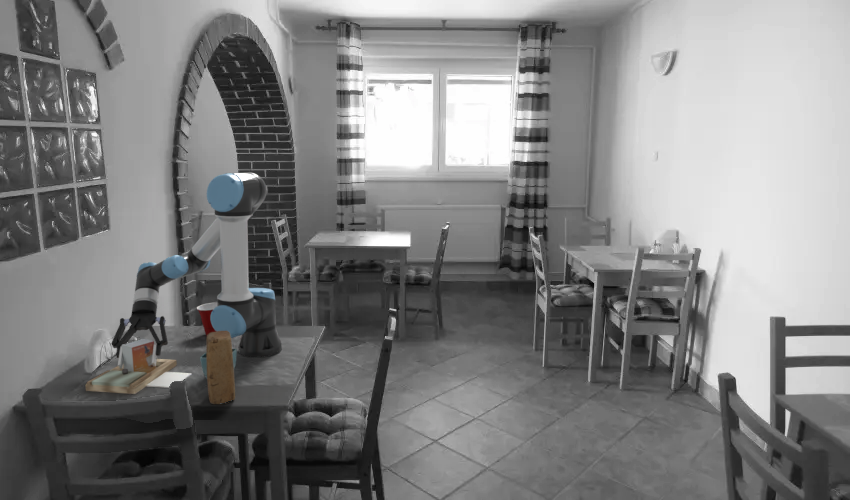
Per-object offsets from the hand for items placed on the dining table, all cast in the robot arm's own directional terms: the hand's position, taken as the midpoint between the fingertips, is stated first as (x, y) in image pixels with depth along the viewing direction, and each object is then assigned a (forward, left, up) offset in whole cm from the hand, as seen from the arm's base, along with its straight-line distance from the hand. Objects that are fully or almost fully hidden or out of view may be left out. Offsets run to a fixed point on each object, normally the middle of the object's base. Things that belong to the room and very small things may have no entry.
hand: (137, 365), depth 186 cm
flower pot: (-27, -2, -4) cm, 27 cm away
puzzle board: (+1, +1, -4) cm, 4 cm away
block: (-34, +11, -4) cm, 36 cm away
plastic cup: (-3, -44, -4) cm, 44 cm away
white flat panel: (-11, +1, -4) cm, 12 cm away
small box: (+1, -3, -4) cm, 5 cm away
